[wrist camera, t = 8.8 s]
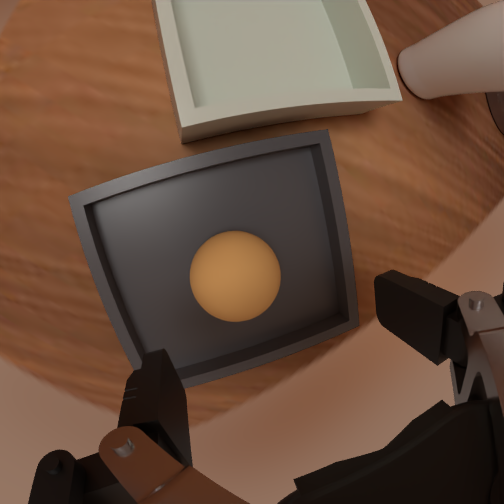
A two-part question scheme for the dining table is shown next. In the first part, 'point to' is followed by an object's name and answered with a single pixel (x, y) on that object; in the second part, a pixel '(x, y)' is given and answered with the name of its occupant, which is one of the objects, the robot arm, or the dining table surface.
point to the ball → (235, 276)
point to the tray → (208, 225)
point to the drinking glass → (458, 56)
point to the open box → (270, 62)
